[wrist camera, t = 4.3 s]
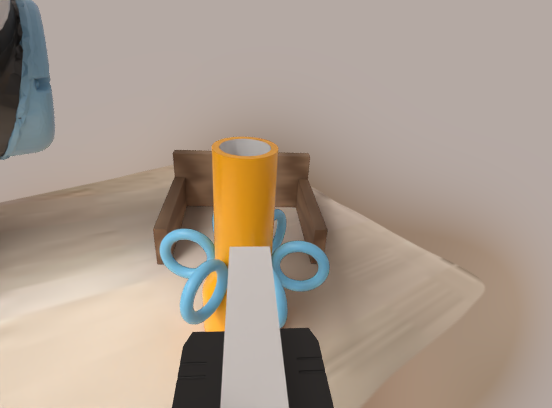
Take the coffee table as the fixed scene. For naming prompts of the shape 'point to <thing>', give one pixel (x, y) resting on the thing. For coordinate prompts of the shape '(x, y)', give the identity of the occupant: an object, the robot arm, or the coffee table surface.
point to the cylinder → (239, 231)
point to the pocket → (199, 192)
